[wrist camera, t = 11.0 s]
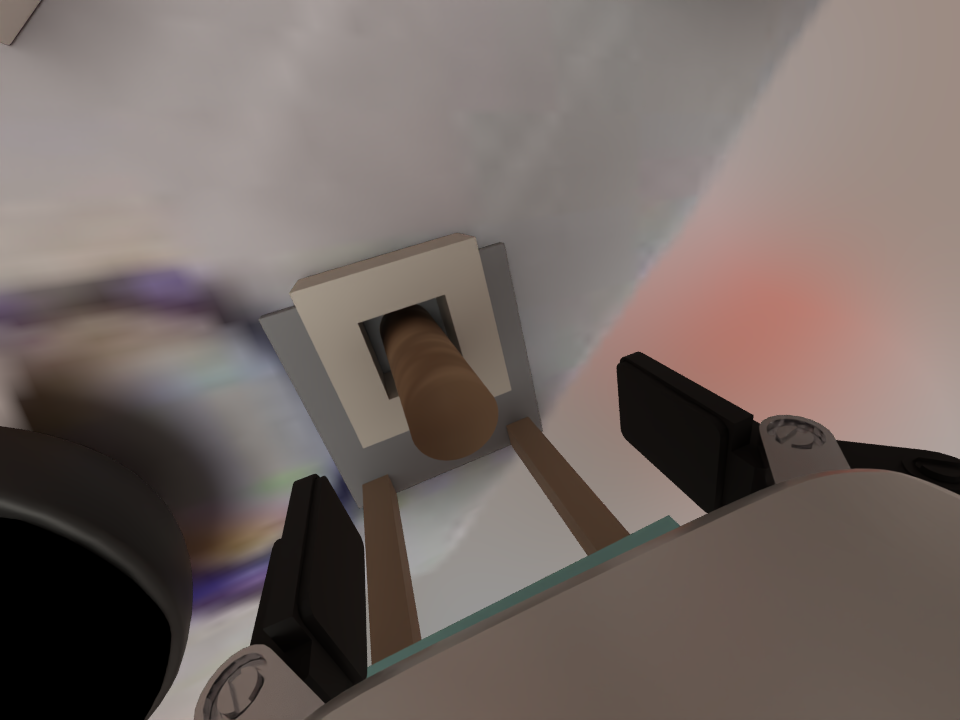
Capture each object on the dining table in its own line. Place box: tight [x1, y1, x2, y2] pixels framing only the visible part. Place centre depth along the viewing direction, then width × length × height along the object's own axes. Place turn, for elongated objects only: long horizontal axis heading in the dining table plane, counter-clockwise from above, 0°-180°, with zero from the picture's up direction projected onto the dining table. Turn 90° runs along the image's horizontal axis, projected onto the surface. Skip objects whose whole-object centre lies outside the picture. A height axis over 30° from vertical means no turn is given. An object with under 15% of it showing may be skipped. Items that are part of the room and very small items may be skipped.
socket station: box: [258, 233, 680, 679], centre depth 20 cm, size 16×18×17 cm
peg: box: [380, 304, 498, 461], centre depth 20 cm, size 4×4×12 cm
